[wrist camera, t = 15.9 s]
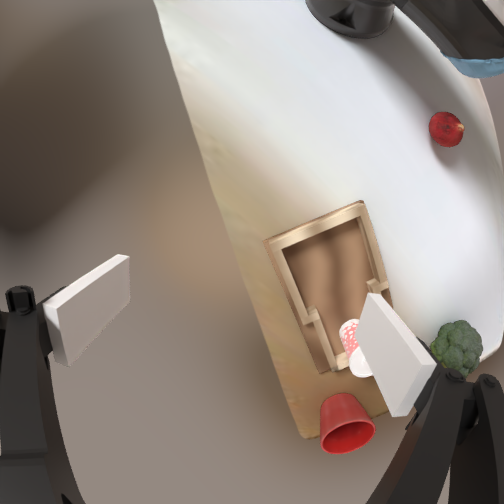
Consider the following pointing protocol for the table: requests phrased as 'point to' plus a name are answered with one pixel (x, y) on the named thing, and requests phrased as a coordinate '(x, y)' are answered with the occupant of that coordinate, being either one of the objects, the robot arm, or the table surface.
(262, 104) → the table surface
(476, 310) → the table surface
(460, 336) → the vegetable
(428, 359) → the robot arm
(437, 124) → the pomegranate
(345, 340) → the beverage cup
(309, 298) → the light brown wooden tray
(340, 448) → the flower pot
